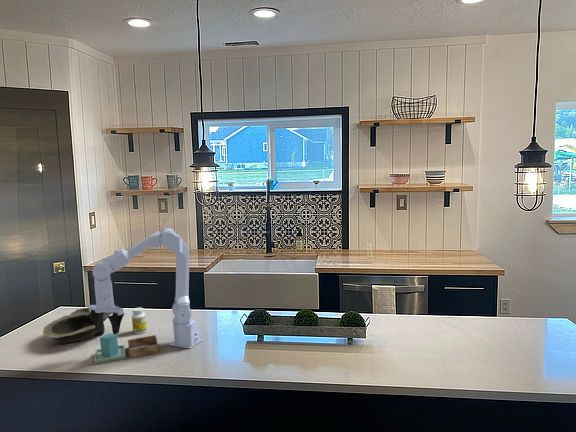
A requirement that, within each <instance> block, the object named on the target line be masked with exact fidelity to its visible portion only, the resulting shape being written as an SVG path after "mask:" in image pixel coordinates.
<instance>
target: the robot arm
mask: <svg viewBox="0 0 576 432" xmlns="http://www.w3.org/2000/svg"><path fill="white" fill-rule="evenodd" d="M161 246H162V247H163V248H165V249H168V250H170V251H172V253H175V257H176V258H175V259H176V260H175V263H176V264H175V296H174V302H173V304H172V307H171V310H172V311H171V312H172V313H173V315H174V318H173V319H172V327H173V328H172V329H173V339H174V340H173V341H172V342H170V343H169V346H171V347H178V348H184V349H192V348H193V347H194V346H196V345H197V344H199V343H200V342H202V341H203V339H202V338H201V337H202V336H201V325H200V323H199V322H198V321H195V320H194V319H193V312H192V310H191V308H190V306H191V305H190V298H189V297H190V296H189V292H190V291H189V288H190V284H189V283H190V248H189V247H188V245H187V244H186V243H185V241H184V240H183V238H182V236H181V235H180V234H179V232H177V231H175V230H174V229H173V228H170V227H165V228H162V229H161V230H160V231H156V232H155V231H154V232H153V233H152V234H150V235H149V236H146V237H145V238H144V239H142V240H140V241H139V242H137V243H136V244H135V245H133V246H131V247H130V248H128V249H121V248H120V249H116V250H114V253H113V254H111V255H109V256H107V257H103V258H102V259H101V260H102V261H101V260H100V261H97V262H95V264H94V265H93V267H92V271H91V273H92V275H93V277H94V278H93V281H94V284H93V285H94V295H95V304H91V305H88V307H87V308H89V312H91V313H90V314H89V317H90V318H91V320H92V321H93V323H94V325H95V327H96V330H97V332H100V331H102V330H103V323H104V322H103V315H104V313H111V314H110V315H109V317H108V318H107V319H108V320H109V322H110V325H111V330H112V334H116V335H118V334H119V333H120V330H121V329H120V328H121V324H122V321H123V318H124V316H125V312H124V307H120V306H117V305H115V302H114V291H113V282H112V280H111V279H112V278H111V274H112V273H115V272H117V271H119V270H120V269H122V268H124V267H125V266H127V265H129V264H130V263H131V261H132V258H134V257H136V256H138V255H139V254H142V253H143V252H145V251H147V250H149V249H150V248H161Z"/></svg>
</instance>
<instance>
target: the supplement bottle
mask: <svg viewBox="0 0 576 432" xmlns="http://www.w3.org/2000/svg"><path fill="white" fill-rule="evenodd" d="M131 323H132V331H133V333H134V334H135V335H136V334H137V335H141V334H145V333H146V332H147V331H148V328H147V327H148V326H147V318H146V313H145V312H144V308H143V307H135V308H133V309H132V316H131Z"/></svg>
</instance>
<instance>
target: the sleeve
mask: <svg viewBox="0 0 576 432" xmlns="http://www.w3.org/2000/svg"><path fill="white" fill-rule="evenodd" d="M127 345H128V347H127V348H128V354H129V355H128V356H129V359H132V358H137V357H144V356H149V355H153V354H158V353H160V351H159V344H158V340H157V335H156V334H154V335H148V336H142V337H138V338H130V339H127Z"/></svg>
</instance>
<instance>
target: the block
mask: <svg viewBox="0 0 576 432" xmlns="http://www.w3.org/2000/svg"><path fill="white" fill-rule="evenodd" d="M99 341H100V349H101V353H102V356H103V357H113V356H114V355H116V354H118V353H119V351H118V346H119V341H118V334H113V333H107V334H106V333H105V335H104V334H103V335H101V336H99Z"/></svg>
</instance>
